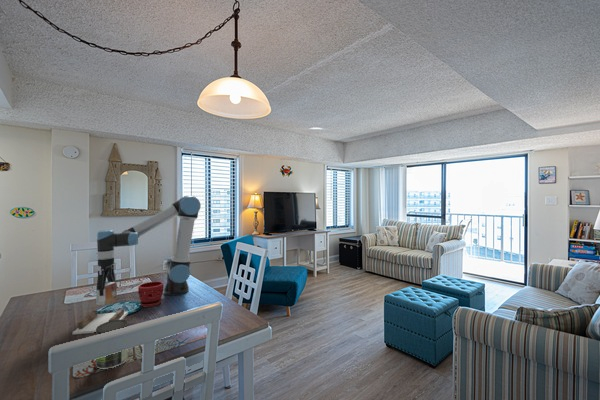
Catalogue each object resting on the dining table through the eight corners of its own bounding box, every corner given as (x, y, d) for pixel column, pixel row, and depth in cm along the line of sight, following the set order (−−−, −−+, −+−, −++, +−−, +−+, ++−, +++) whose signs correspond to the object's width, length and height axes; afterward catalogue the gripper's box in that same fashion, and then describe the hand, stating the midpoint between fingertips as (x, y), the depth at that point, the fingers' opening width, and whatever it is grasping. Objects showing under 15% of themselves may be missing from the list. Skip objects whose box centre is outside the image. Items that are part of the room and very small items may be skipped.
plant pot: (168, 301, 167) (168, 281, 167) (150, 309, 154) (150, 288, 154) (151, 298, 171) (151, 279, 171) (132, 306, 159) (132, 286, 158)
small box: (104, 305, 150) (104, 286, 149) (96, 304, 151) (95, 285, 150) (117, 300, 157) (116, 281, 157) (108, 299, 159) (108, 281, 158)
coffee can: (108, 372, 99) (108, 334, 99) (89, 366, 103) (89, 328, 103) (134, 357, 109) (134, 321, 109) (116, 351, 112) (116, 317, 112)
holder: (94, 316, 146) (94, 308, 146) (128, 313, 149) (128, 306, 149) (72, 334, 126) (72, 325, 126) (111, 331, 130) (111, 322, 130)
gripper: (107, 254, 164) (108, 291, 164) (87, 263, 142) (88, 306, 142) (121, 253, 165) (122, 290, 166) (104, 262, 144) (105, 304, 144)
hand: (106, 297), depth 154 cm, fingers closed on small box, 9 cm apart
